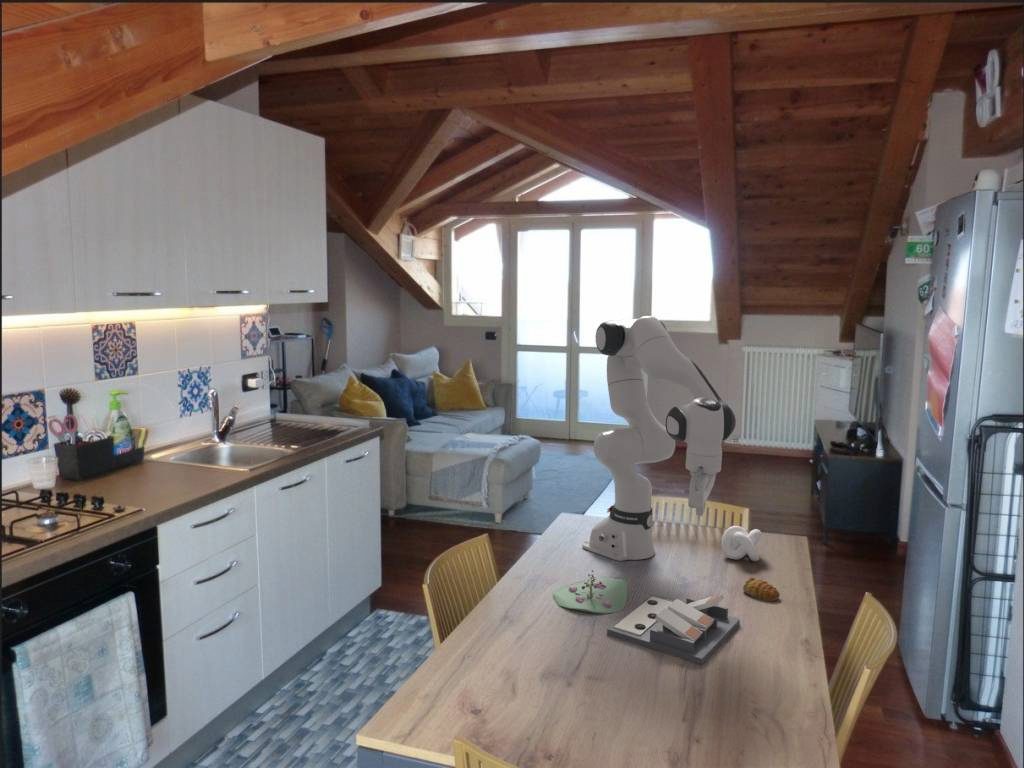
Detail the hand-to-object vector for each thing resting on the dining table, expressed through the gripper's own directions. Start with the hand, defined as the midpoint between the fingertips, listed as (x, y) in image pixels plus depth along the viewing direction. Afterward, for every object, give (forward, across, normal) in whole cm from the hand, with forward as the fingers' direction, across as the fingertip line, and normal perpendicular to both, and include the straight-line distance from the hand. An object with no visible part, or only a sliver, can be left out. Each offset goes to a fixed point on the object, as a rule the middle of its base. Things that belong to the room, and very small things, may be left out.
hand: (700, 513), depth 201 cm
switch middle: (+19, -19, -2) cm, 27 cm away
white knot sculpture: (+26, +36, -9) cm, 45 cm away
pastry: (+25, +12, -16) cm, 32 cm away
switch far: (+19, -12, -4) cm, 23 cm away
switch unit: (+24, -18, +2) cm, 30 cm away
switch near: (+18, -26, 0) cm, 32 cm away
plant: (+26, -6, +25) cm, 37 cm away
